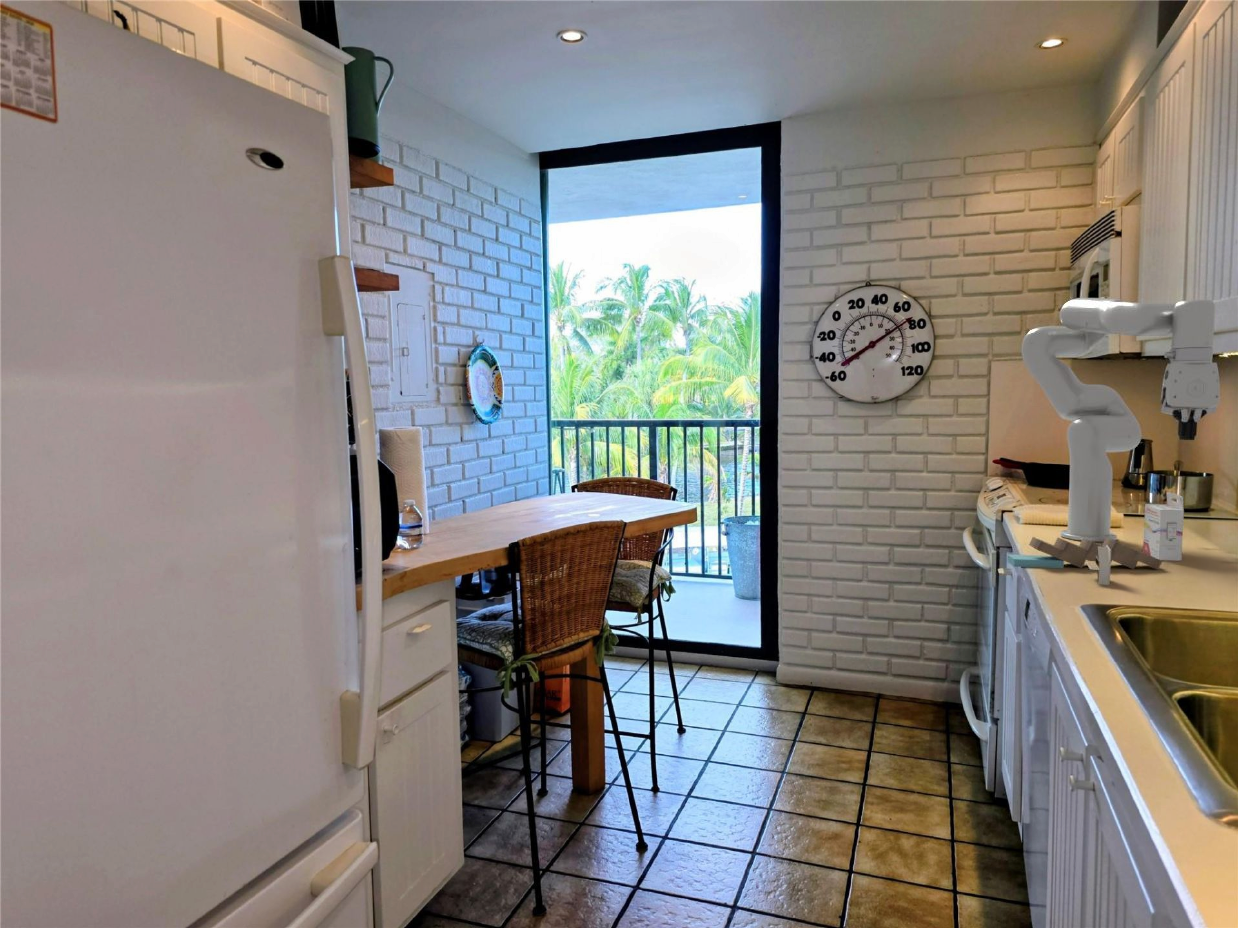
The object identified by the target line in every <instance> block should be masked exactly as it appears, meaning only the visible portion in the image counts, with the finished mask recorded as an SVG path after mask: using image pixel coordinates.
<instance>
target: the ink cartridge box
mask: <svg viewBox="0 0 1238 928" xmlns="http://www.w3.org/2000/svg"><path fill="white" fill-rule="evenodd" d="M1173 499H1175V500H1177V501H1175V500H1173ZM1184 516H1185V510H1184V497H1183V495H1179V494H1176V493H1174V492H1169V491H1167V492H1166V503H1164V504H1163V503H1158V504H1157V503H1154V504H1153V503H1145V504H1144V525H1143V540H1142V541H1143V544H1142V545H1143V546H1142V552H1143V553H1145V554H1148V555H1150V556H1152V557H1155V558H1157V559H1159V560H1161V561H1171V562H1175V561H1176V562H1179V561H1180V562H1181V561H1182V556H1183V555H1182V554H1183V553H1182V552H1183V533H1184Z"/></svg>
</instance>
